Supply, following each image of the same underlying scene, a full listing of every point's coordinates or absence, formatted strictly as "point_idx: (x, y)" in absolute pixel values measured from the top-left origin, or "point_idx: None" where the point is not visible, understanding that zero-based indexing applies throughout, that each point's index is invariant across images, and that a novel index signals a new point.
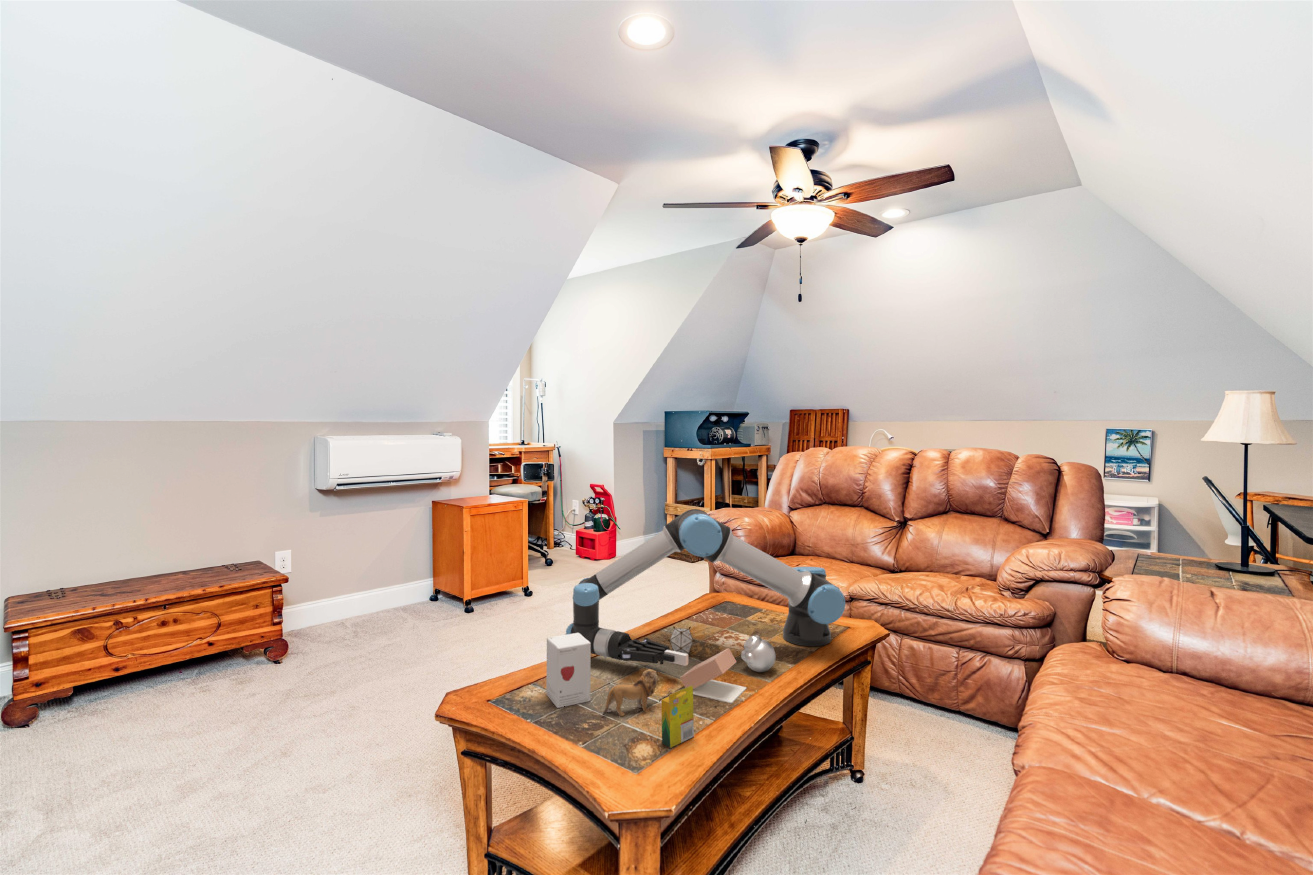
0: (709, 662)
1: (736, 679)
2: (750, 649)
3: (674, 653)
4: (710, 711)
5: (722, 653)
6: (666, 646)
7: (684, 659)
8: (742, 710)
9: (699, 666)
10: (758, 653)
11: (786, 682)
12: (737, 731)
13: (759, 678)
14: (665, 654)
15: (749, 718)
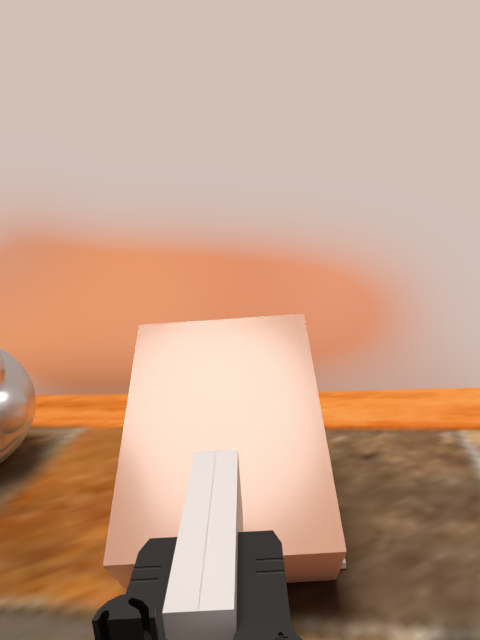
0: (307, 342)
1: (86, 489)
2: (3, 372)
3: (235, 514)
4: (416, 453)
5: (217, 321)
6: (121, 614)
7: (239, 484)
8: (329, 413)
9: (285, 414)
10: (21, 370)
11: (78, 408)
12: (445, 391)
13: (59, 449)
14: (251, 614)
15: (358, 396)
